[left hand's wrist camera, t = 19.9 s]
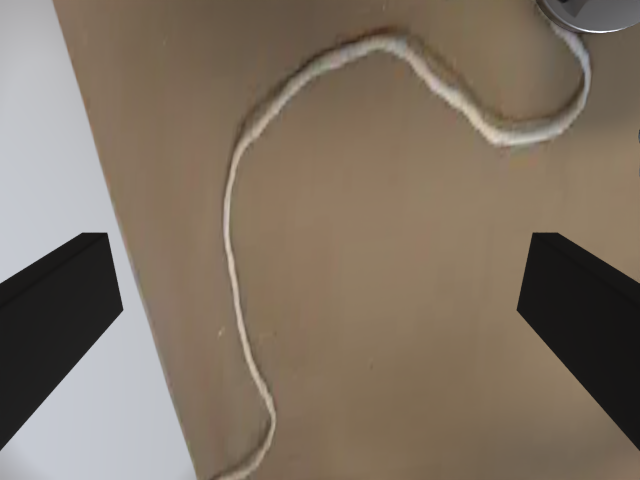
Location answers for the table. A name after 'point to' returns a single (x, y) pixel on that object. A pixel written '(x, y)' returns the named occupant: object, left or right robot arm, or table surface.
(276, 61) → the table surface
